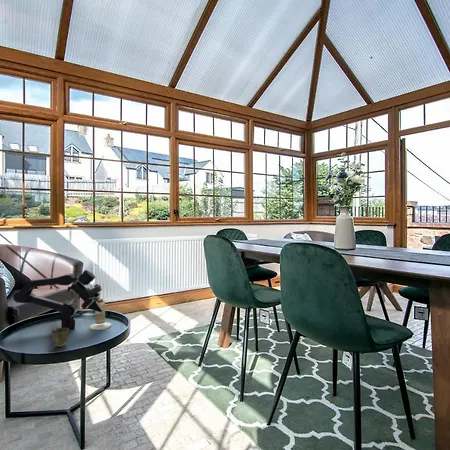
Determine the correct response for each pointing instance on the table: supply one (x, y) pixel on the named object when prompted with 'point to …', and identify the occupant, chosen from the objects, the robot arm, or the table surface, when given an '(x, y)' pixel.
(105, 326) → the plate
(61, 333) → the cup
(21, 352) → the table surface
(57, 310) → the robot arm
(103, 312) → the pepper mill
